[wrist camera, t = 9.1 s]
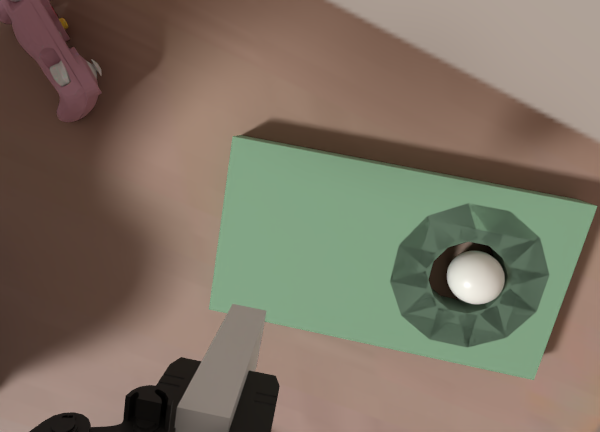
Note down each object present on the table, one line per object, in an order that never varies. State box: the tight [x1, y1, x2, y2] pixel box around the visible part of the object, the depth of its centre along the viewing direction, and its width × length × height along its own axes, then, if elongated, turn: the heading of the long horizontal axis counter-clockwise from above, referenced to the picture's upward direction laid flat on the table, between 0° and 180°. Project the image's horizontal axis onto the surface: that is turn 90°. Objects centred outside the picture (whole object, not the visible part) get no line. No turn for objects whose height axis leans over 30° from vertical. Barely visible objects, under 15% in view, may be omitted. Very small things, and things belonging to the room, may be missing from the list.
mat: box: [209, 135, 597, 380], centre depth 32 cm, size 26×14×2 cm, turn 80°
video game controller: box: [0, 0, 102, 122], centre depth 30 cm, size 10×5×7 cm, turn 28°
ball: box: [447, 251, 505, 304], centre depth 31 cm, size 4×4×4 cm
